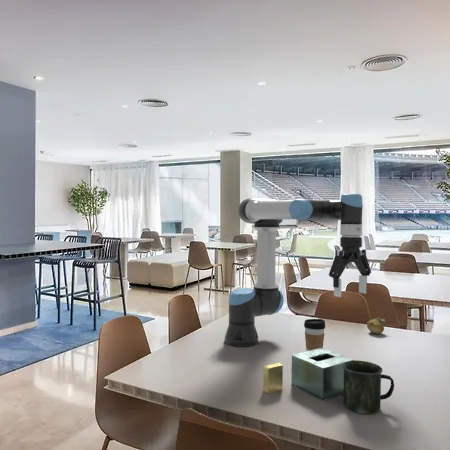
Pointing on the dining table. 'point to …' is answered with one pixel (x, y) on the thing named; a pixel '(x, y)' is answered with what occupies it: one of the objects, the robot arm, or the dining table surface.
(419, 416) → the dining table surface
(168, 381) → the dining table surface
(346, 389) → the mug
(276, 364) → the tan rectangular block
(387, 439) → the dining table surface
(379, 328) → the onion
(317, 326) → the coffee cup
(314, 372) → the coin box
